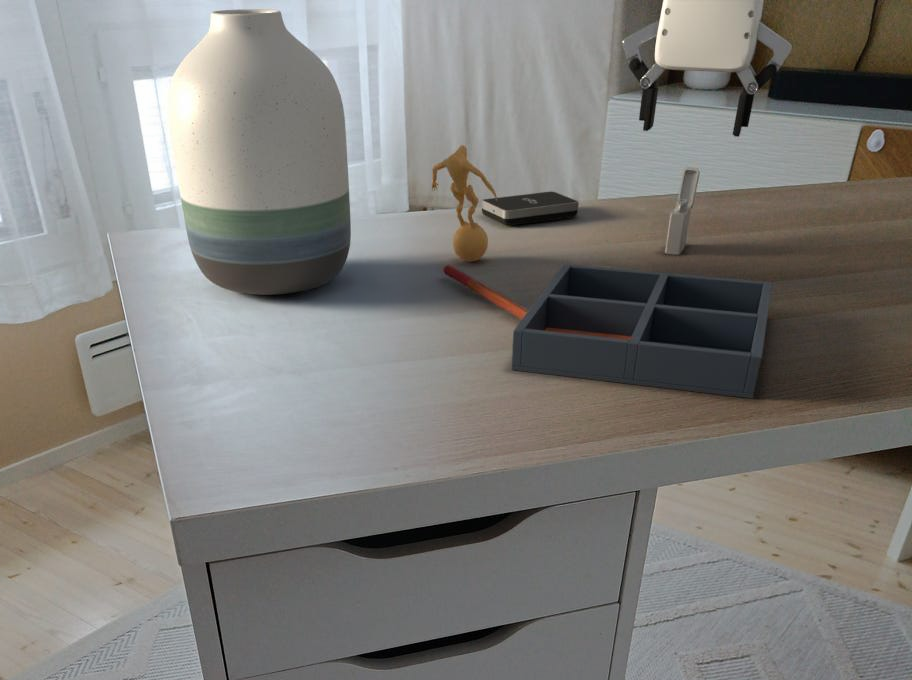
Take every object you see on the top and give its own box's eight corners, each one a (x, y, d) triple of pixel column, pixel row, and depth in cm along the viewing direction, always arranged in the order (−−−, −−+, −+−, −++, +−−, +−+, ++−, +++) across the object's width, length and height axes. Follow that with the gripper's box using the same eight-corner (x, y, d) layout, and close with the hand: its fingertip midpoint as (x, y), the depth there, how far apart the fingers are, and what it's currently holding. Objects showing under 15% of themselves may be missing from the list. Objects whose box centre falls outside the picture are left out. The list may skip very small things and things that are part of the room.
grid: (764, 318, 88) (772, 282, 86) (752, 398, 73) (762, 357, 71) (561, 298, 93) (563, 263, 91) (511, 370, 78) (513, 330, 76)
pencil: (441, 268, 97) (447, 262, 97) (445, 276, 98) (452, 270, 98) (540, 326, 84) (548, 319, 84) (544, 334, 85) (552, 327, 85)
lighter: (679, 254, 105) (691, 178, 100) (664, 253, 106) (675, 177, 101) (689, 239, 110) (700, 166, 105) (674, 237, 111) (685, 165, 106)
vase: (322, 252, 107) (303, 3, 92) (378, 293, 95) (366, 13, 80) (178, 271, 101) (133, 9, 87) (219, 317, 89) (174, 21, 74)
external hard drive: (579, 218, 118) (580, 202, 117) (504, 228, 115) (504, 211, 114) (551, 207, 123) (552, 191, 122) (478, 216, 120) (479, 199, 119)
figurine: (510, 262, 103) (515, 143, 96) (481, 275, 99) (484, 153, 92) (449, 251, 107) (450, 135, 100) (419, 263, 103) (417, 144, 96)
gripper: (815, -64, 91) (774, 130, 102) (640, -66, 95) (619, 121, 106) (814, -62, 85) (771, 143, 96) (629, -64, 90) (607, 132, 100)
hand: (691, 131), depth 101 cm, fingers open, 9 cm apart
